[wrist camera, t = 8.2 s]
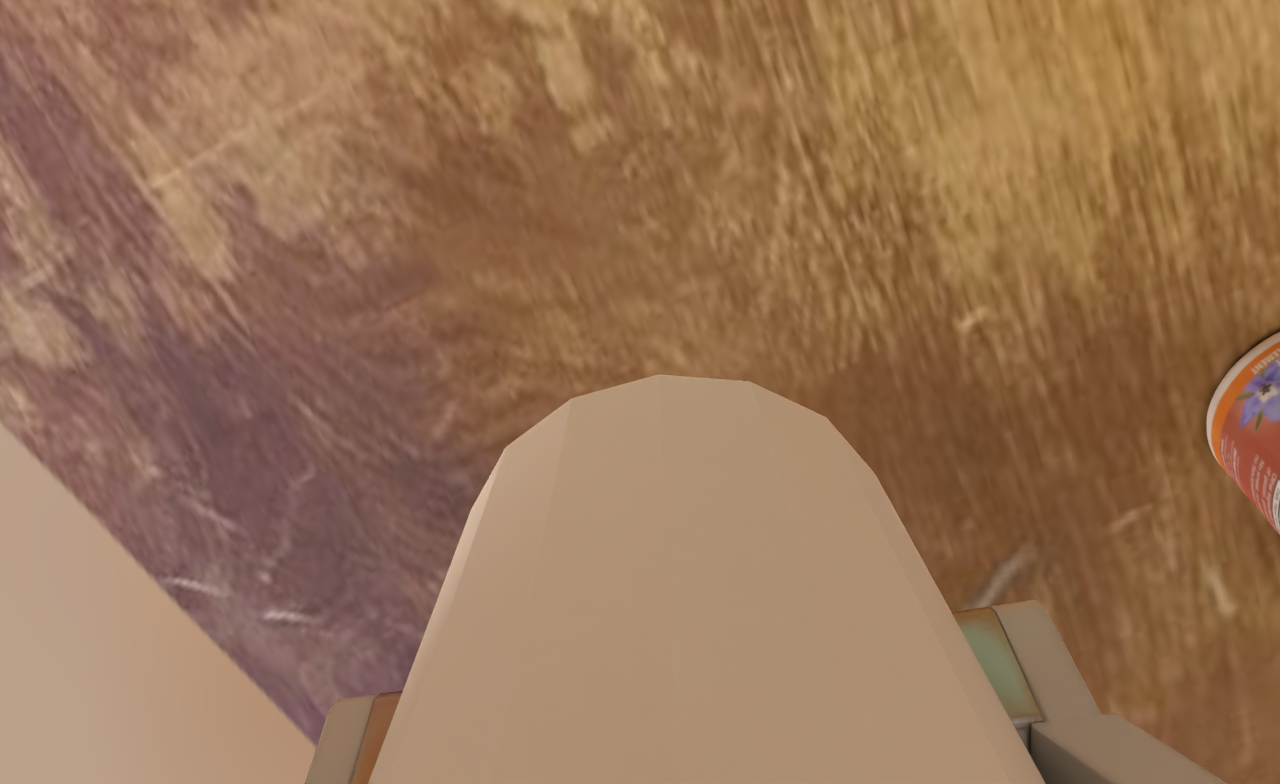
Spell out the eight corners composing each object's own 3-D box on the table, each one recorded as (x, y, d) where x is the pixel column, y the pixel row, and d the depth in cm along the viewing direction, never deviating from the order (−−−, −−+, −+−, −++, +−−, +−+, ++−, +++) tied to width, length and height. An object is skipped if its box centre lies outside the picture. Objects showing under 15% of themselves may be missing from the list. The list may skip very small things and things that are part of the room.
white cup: (312, 473, 13) (29, 1078, 7) (811, 227, 11) (1032, 730, 5) (583, 788, 16) (558, 1398, 10) (1005, 630, 14) (1285, 1240, 8)
